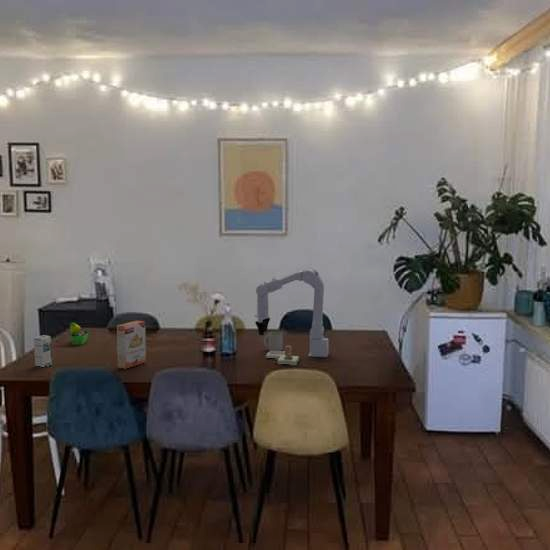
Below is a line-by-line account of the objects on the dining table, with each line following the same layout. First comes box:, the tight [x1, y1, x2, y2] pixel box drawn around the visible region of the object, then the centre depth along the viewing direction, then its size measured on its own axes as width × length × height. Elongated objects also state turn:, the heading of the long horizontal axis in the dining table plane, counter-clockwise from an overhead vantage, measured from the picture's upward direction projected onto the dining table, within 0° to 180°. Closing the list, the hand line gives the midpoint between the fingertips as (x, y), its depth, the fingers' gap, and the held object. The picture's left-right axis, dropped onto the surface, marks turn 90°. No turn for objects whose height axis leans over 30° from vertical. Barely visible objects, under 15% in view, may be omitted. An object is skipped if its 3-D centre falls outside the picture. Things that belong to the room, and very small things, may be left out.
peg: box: [284, 345, 292, 360], centre depth 335 cm, size 3×3×8 cm
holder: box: [277, 355, 300, 366], centre depth 335 cm, size 9×9×2 cm
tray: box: [265, 350, 285, 360], centre depth 345 cm, size 10×9×2 cm
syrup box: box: [33, 334, 53, 368], centre depth 330 cm, size 6×6×14 cm
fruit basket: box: [69, 322, 90, 346], centre depth 376 cm, size 11×9×11 cm
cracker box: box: [116, 320, 147, 370], centre depth 329 cm, size 14×6×21 cm, turn 148°
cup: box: [263, 331, 283, 351], centre depth 359 cm, size 7×10×9 cm
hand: (263, 333), depth 353 cm, fingers open, 7 cm apart
